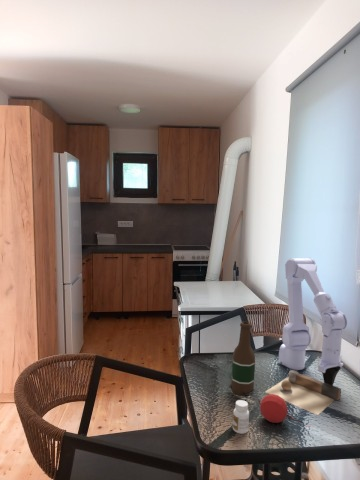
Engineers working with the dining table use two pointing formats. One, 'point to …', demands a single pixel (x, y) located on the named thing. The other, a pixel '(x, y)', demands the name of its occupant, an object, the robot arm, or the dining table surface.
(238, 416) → the pill bottle
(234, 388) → the beer bottle
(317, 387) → the lever
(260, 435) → the dining table surface
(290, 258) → the robot arm
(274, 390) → the board
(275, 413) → the red round piece
